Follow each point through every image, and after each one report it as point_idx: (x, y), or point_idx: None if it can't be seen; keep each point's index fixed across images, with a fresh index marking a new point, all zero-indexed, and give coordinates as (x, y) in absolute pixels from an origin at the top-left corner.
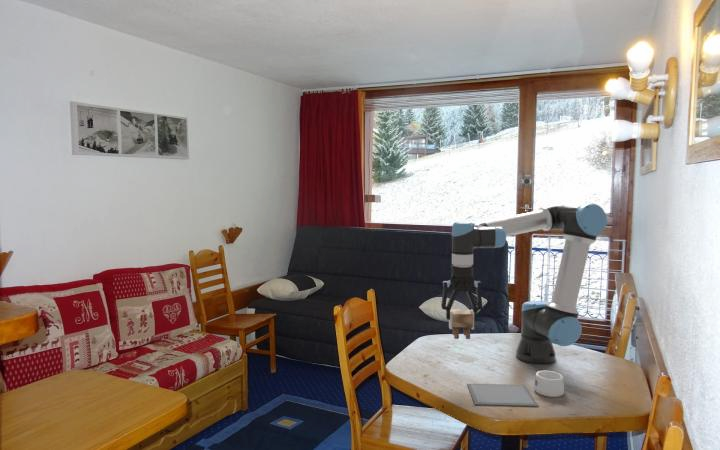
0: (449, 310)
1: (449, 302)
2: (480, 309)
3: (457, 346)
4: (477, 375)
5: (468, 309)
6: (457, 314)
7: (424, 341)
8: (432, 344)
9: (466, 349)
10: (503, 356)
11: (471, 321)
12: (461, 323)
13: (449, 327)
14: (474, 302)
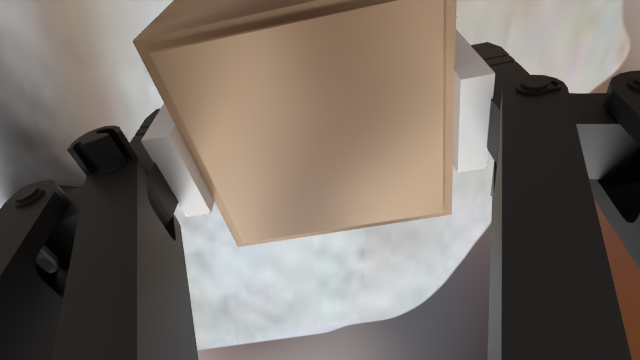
0: (514, 82)
1: (579, 181)
2: (47, 181)
3: (334, 261)
4: None
5: (247, 241)
6: (382, 3)
7: (435, 275)
8: (412, 261)
9: (305, 247)
10: (182, 220)
11: (185, 3)
12: None
13: None
14: (79, 248)
